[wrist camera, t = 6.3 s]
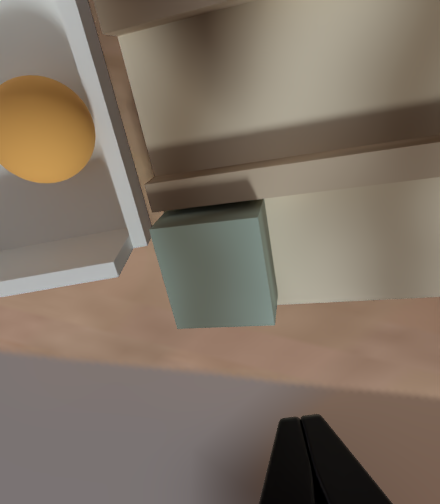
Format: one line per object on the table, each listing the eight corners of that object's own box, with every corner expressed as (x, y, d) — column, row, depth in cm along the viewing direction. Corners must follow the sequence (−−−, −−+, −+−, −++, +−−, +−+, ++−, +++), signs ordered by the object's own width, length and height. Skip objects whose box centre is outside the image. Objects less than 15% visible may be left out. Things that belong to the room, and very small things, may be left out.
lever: (938, -276, 7) (1298, -470, 5) (719, 265, 12) (835, 321, 10) (114, -24, 12) (61, -50, 9) (195, 296, 17) (175, 339, 14)
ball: (67, 73, 14) (85, 59, 11) (96, 164, 16) (119, 172, 13) (-36, 90, 13) (-44, 79, 10) (7, 188, 14) (10, 203, 11)
